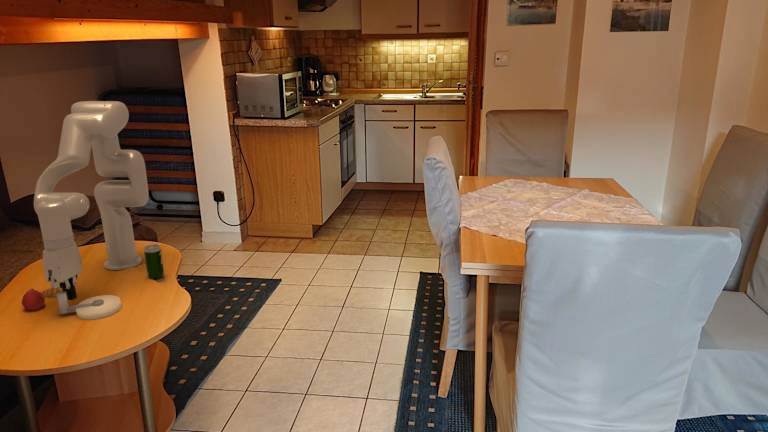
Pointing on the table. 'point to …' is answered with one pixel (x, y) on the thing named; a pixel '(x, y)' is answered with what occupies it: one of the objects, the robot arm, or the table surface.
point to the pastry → (51, 292)
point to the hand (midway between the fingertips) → (70, 298)
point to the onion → (33, 300)
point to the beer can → (154, 262)
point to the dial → (90, 306)
